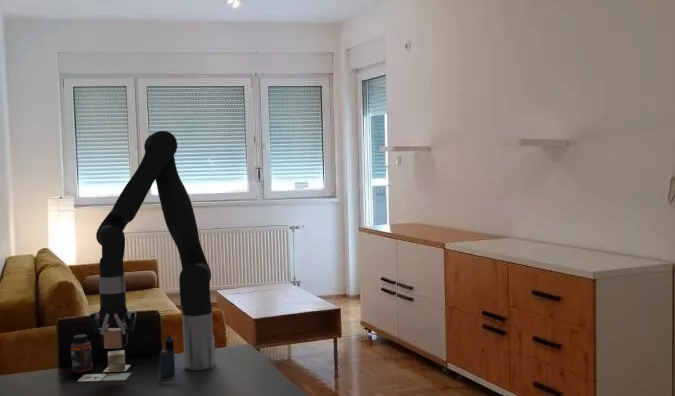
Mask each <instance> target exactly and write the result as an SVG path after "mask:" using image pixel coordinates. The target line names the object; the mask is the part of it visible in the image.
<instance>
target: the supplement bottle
mask: <svg viewBox="0 0 675 396" xmlns="http://www.w3.org/2000/svg"><path fill="white" fill-rule="evenodd" d="M91 345H92V344H91V342H90V341H88V335H87V334H84V333H82V334H77V335H74V336H73V342H72V343H71V345H70V351H71V352H70V353H71V354H70V355H71V366H72V372H73V373H86V372H89V371H92V369H93V357H92V346H91Z"/></svg>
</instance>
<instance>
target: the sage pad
mask: <svg viewBox="0 0 675 396" xmlns="http://www.w3.org/2000/svg"><path fill="white" fill-rule="evenodd" d="M131 374H132V372H121V373H120V372H119V373H117V372H113V373H107V374H106V375H105V377H104V378H103V379H102V380H101V381H103V382H104V381H126V380H127V379H128V378H129V376H130V375H131Z"/></svg>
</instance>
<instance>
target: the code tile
mask: <svg viewBox="0 0 675 396" xmlns="http://www.w3.org/2000/svg"><path fill="white" fill-rule="evenodd" d="M106 376H107V373H92V374H91V373H90V374H88V373H87V374H83V375H82V376H81V377H80V378H78V380H77V382H98V381H99V382H101V381H102V380H103V379H104V378H105V377H106Z"/></svg>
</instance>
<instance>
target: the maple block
mask: <svg viewBox="0 0 675 396" xmlns="http://www.w3.org/2000/svg"><path fill="white" fill-rule="evenodd" d="M125 353H126V352H125V349H122V350H111V351H110V350H109V351H107V365H108V366H107V367H108V370H109V371H118V370H125V365H126V354H125Z"/></svg>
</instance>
